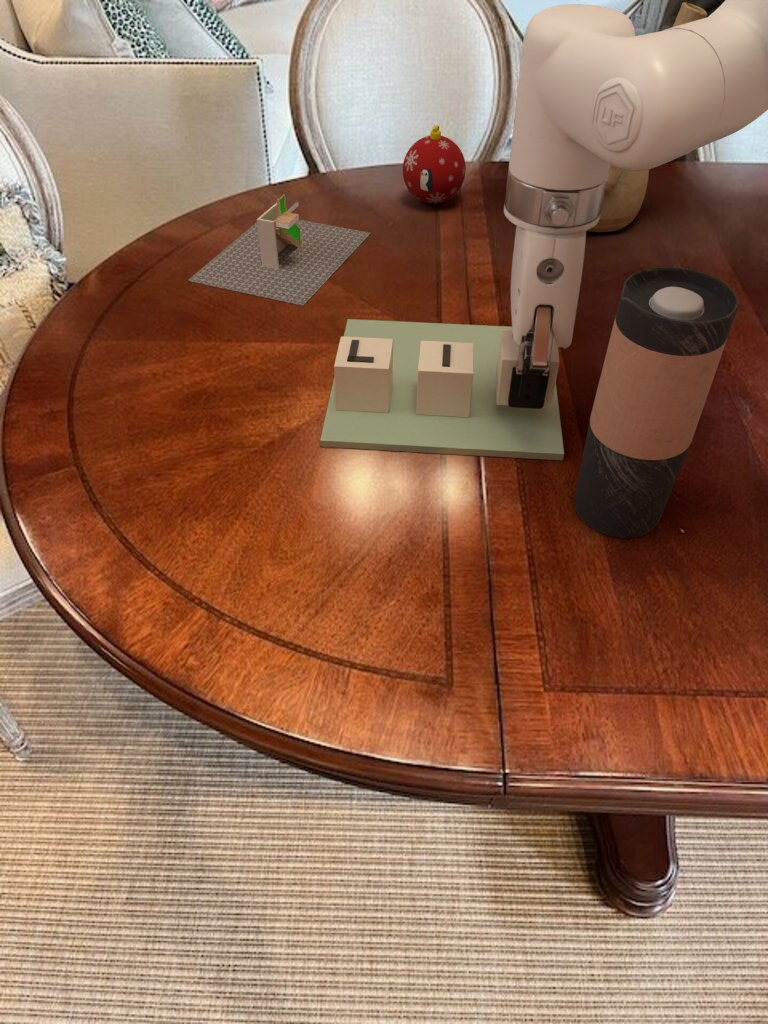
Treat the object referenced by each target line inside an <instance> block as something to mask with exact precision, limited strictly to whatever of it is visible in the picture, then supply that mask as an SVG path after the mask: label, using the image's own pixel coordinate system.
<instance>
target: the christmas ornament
mask: <svg viewBox="0 0 768 1024" xmlns="http://www.w3.org/2000/svg"><path fill="white" fill-rule="evenodd" d="M466 166H467V165H466V160H465V156H464V153H463V152H462V149H461V148H460V147H459V145H458V144H457V143H456V142H454V141H453V140H452V139H450V138H449V137H447V136H443V135H442V131H441V130H440V126H439V124H438V125H437V124H436V125H434V126H433V127H432V129H431V131H430V134H429V135H425V136H423V137H421V138H419V139H418V140H417V141H415V142H414V143H413V144H412V145H411V146H410V147H409V149H408V150H407V152H406V153H405V156H404V158H403V163H402V176H403V177H402V178H403V181H404V185H405V186H406V188H407V190H408V191H409V193H410V194H411V195H412V196H413V198H415V199H416V200H418V201H420V202H422V203H425V204H430V205H436V204H442V203H445V202H447V201H449V200H451V199H452V198H453V197H454V196H455V195H457V193H458V192H459V191H460V189H461V188H462V186H463V183H464V181H465V178H466V172H467V171H466V170H467V167H466Z"/></svg>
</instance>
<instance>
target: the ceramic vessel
mask: <svg viewBox="0 0 768 1024" xmlns="http://www.w3.org/2000/svg"><path fill="white" fill-rule="evenodd" d="M707 17H708V12H707V11H706V10H705V9H704V8H702V7H700V6H698V5H696V4H692V3H689V2H685V1H684V2H682V3H681V6H680V8H679V11H678V13H677V16H676V18H675V21H674V23H673V25H672V27H675V26H679V25H682V24H686V23H689V22H693V21H696V20H700V19H703V18H707ZM649 173H650V169H648V170H642V171H629V170H624V169H620V168H617V167H615V166H612V165H610V170H609V175H608V180H607V185H606V190H605V195H604V200H603V205H602V210H601V214H600V219H599V222H598V223H597V225H595V226H594V227H593V228H591V229H589V230H586V233H587V232H588V233H610V232H616V231H619V230H622V229H623V228H625V227H627V226H628V225H630V224H631V223H632V222H633V221H634V220H635V218H636V217H637V216H638V214H639V212H640V210H641V207H642V205H643V203H644V199H645V197H646V193H647V187H648V183H649V175H650V174H649Z"/></svg>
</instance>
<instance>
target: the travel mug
mask: <svg viewBox="0 0 768 1024" xmlns="http://www.w3.org/2000/svg"><path fill="white" fill-rule="evenodd" d="M738 307H739V299H738V297H737V294H736V292H735V291H734V290H733V289H732V288H731V287H730V286H729V285H728V284H726V283H725V282H723V281H722V280H720V279H718V278H716V277H715V276H713V275H709V274H707V273H704V272H701V271H698V270H694V269H691V268H690V269H689V268H683V267H674V266H658V267H657V266H656V267H650V268H646V269H642V270H639V271H636V272H635V273H634V272H633V274H631V275H630V276H628V277H627V278H626V279H625V280H624V283H623V285H622V290H621V293H620V297H619V300H618V304H617V309H616V312H615V317H614V322H613V324H612V329H611V332H610V337H609V341H608V345H607V349H606V353H605V357H604V361H603V365H602V369H601V373H600V376H599V381H598V385H597V389H596V393H595V397H594V401H593V405H592V409H591V412H590V416H589V417H590V418H589V422H588V427H587V432H586V437H585V442H584V447H583V448H584V449H583V453H582V457H581V463H580V467H579V473H578V478H577V484H576V489H575V495H574V508H575V511H576V513H577V516H578V518H580V520H581V521H582V522H583V523H584V525H587V527H589V528H590V529H592V530H594V531H595V532H598V533H600V534H602V535H605V536H608V537H612V538H617V539H633V538H638V537H642V536H645V535H647V534H649V533H650V532H652V531H653V530H654V529H655V527H656V526H657V525H658V523H659V522H660V520H661V518H662V515H663V513H664V511H665V508H666V505H667V503H668V500H669V498H670V495H671V493H672V491H673V489H674V487H675V484H676V481H677V479H678V477H679V473H680V471H681V468H682V466H683V464H684V461H685V459H686V457H687V455H688V452H689V449H690V447H691V444H692V441H693V439H694V435H695V433H696V430H697V427H698V424H699V422H700V419H701V415H702V413H703V409H704V407H705V404H706V401H707V398H708V395H709V392H710V389H711V387H712V384H713V381H714V378H715V376H716V372H717V370H718V366H719V364H720V361H721V358H722V355H723V352H724V350H725V346H726V343H727V341H728V337H729V334H730V332H731V329H732V326H733V323H734V322H735V321H734V320H735V318H736V315H737V311H738Z"/></svg>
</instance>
